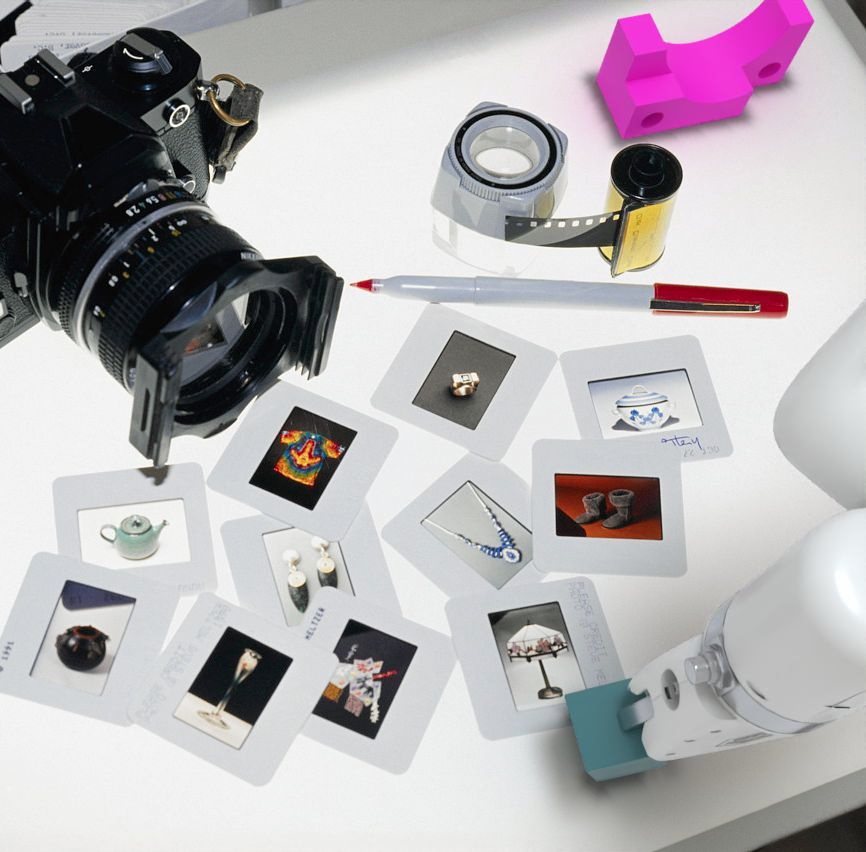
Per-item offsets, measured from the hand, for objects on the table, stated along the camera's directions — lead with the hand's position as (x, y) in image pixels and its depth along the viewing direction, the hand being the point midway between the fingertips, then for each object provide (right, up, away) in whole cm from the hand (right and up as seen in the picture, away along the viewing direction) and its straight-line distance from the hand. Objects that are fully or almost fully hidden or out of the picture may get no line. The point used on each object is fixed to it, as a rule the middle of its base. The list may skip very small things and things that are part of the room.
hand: (674, 725), depth 78 cm
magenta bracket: (+9, +47, +24) cm, 53 cm away
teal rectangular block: (-3, -1, +1) cm, 3 cm away
